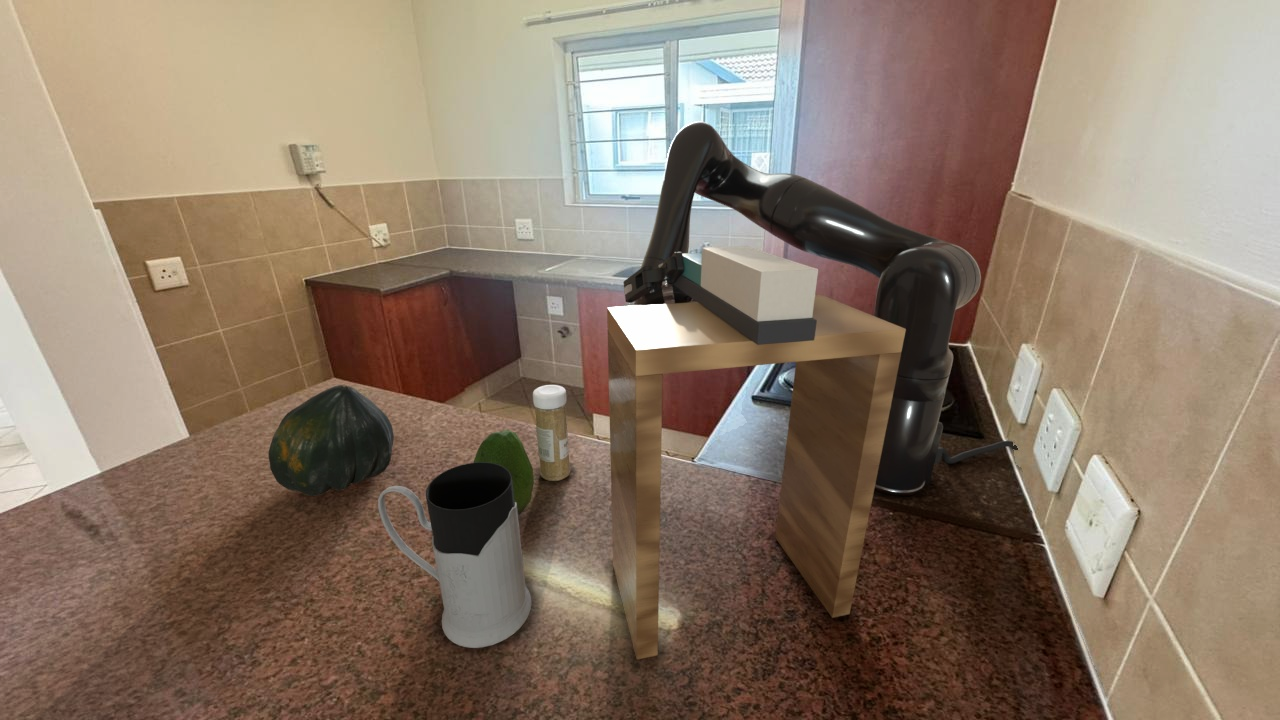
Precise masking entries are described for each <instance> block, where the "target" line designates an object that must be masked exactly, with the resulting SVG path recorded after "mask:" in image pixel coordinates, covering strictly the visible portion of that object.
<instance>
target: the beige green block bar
mask: <svg viewBox="0 0 1280 720" xmlns="http://www.w3.org/2000/svg"><path fill="white" fill-rule="evenodd" d="M682 255H683V263H684V272H683V274H682V275H681V276H680V277H679V278H678V279H677V280H676V282H675V283H672V284H673V285H674V286H676V287H677V288H679V289H680V290H681V291H683V292H684V293H686V294H687V295H688V296H690V297H691V298H693V299H694V300H695V301H697V302H698V303H700V304H701V305H702V306H704V307H705V308H707V309H708V310H709V311H711V312H712V313H714V314H715V315H716V316H718V317H719V318H721V319H722V320H723V321H725V322H726V323H728V324H729V325H730V326H732V327H733V328H735V329H736V330H737V331H739V332H740V333H742V334H743V335H744V336H746V337H747V338H749V339H750V340H751V341H753V342H754V343H755V344H757V345H762V344H775V343H788V342H800V341H813V340H814V339H815V331H816V324H817V320H816V319H814V318H812V315H813V308H814V300H815V295H816V290H817V282H818V275H819V269H818V268H816V267H813V266H810V265H807V264H803V263H801V262H797V261H794V260H791V259H787V258H785V257H781V256H778V255H775V254H773V253H769V252H766V251H763V250H761V249H758V248H754V247H750V246H749V245H740V246H739V245H738V246H734V245H733V246H707V247H705V246H704V247H703V246H702V249H701V252H691V253H689V252H688V253H685V254H682Z"/></svg>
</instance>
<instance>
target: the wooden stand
mask: <svg viewBox="0 0 1280 720" xmlns="http://www.w3.org/2000/svg"><path fill="white" fill-rule="evenodd" d="M606 318H607V319H606V323H607V359H608V360H607V361H608V362H607V365H608V366H607V367H608V404H609V405H608V406H609V407H608V408H609V409H608V410H609V446H610V447H609V449H610V450H609V451H610V489H611V491H610V493H611V533H612V535H611V537H612V538H611V539H612V567H613V571H614V575H615V579H616V583H617V587H618V591H619V596H620V600H621V604H622V606H623V611H624V614H625V615H624V616H625V619H626V623H627V627H628V630H629V635H630V639H631V643H632V647H633V651H634V654H635V658H636V660H642V659H647V658H651V657H657V656H658V655H659V652H658V651H659V605H660V603H659V601H660V599H659V597H660V592H659V591H660V543H661V494H662V493H661V491H662V489H661V487H662V485H661V484H662V483H661V482H662V436H663V435H662V434H663V431H662V429H663V378H664V376H663V375H665V374H675V373H685V372H686V373H687V372H697V371H698V372H699V371H709V370H710V371H711V370H721V369H730V368H742V367H743V368H744V367H754V366H765V365H775V364H777V365H778V364H787V363H795V369H794V375H793V376H794V377H793V384H792V392H791V393H792V394H791V403H790V410H789V418H788V426H787V434H786V435H787V436H786V444H785V453H784V460H783V468H782V475H781V476H782V477H781V487H780V494H779V502H778V511H777V519H776V527H775V528H776V529H775V536H774V538H775V540H776V541H777V542H778V544H779V545H780V547H781V548H782V549H783V551H784V553H785V554H786V555H787V557H788V558H789V560H790V561H791V562H792V564H793V565H794V566H795V568H796V569H797V570H798V572H799V573H800V575H801V576H802V578H803V579H804V581H805V582H806V583H807V585H808V586H809V587H810V589H811V590H812V592H813V593H814V595H815V596H816V597H817V599H818V600H819V602H820V603H821V604H822V606H823V607H824V608H825V610H826V612H827V613H828V614H829V616H830V617H831V618H832V619H833V618H839V617H843V616H847V615H850V614H851V609H852V604H853V600H854V599H853V598H854V594H855V590H856V584H857V579H858V574H859V569H860V564H861V559H862V553H863V550H864V549H863V548H864V544H865V538H866V533H867V528H868V523H869V518H870V514H871V508H872V504H873V503H872V502H873V498H874V492H875V489H874V488H875V483H876V478H877V473H878V468H879V463H880V458H881V453H882V448H883V443H884V438H885V433H886V428H887V423H888V418H889V412H890V407H891V402H892V397H893V392H894V387H895V382H896V377H897V372H898V367H899V362H900V357H901V352H902V346H903V341H904V336H905V331H906V329H904V328H902V327H900V326H897V325H895V324H892V323H890V322H887V321H885V320H882V319H880V318H877V317H875V316H874V315H872V314H870V313H868V312H865V311H862V310H860V309H857V308H855V307H853V306H850V305H848V304H845V303H843V302H840V301H838V300H835V299H833V298H831V297H828V296H825V295H822V294H815V300H814V308H813V315H812V318H814V319H816V320H817V324H816V331H815V339H814V340H813V341H800V342H788V343H775V344H762V345H757V344H755V343H754V342H753V341H751V340H750V339H749V338H747V337H746V336H744V335H743V334H742V333H740V332H739V331H737V330H736V329H735V328H733V327H732V326H730V325H729V324H728V323H726V322H725V321H723V320H722V319H721V318H719V317H718V316H716V315H715V314H714V313H712V312H711V311H709V310H708V309H707V308H705V307H704V306H702V305H701V304H700V303H698V302H692V303H675V304H658V305H641V306H624V307H621V306H609V307H606Z"/></svg>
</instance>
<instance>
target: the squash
mask: <svg viewBox="0 0 1280 720" xmlns="http://www.w3.org/2000/svg"><path fill="white" fill-rule="evenodd" d="M394 435H395V433H394V428H393V425H392V423H391V420H390V419H389V417H388V416H387V414H386V413H385V412H384V411H383V410H381V408H380V407H378V406H377V405H376V403H374V401H372V400H371V399H369V398H368V397H367V396H365V395H364V394H362V393H360V391H358V390H357V389H355V388H354V387H352V386H349V385H347V384H339V385H334V386H332V387H329V388H327V389H325V390H323V391H321V392H319V393H317V394H316V395H313V396H312V397H310V398H309V399H307V400H306V401H304V402H303V403H301V404H300V405H298V406H296V407H294V408H293V409H291V410H289V412H287V413H286V414H285V415H284V417H283V418H282V419H281V421H280V422H279V425H278V427H277V428H276V430H275V432H274V434H273V436H272V438H271V442H270V445H269V449H268V462H269V469H270V471H271V474H272V475H273V476H274V479H275V480H276V482H277V483H278V484H280V486H281V487H283V488H284V489H287V490H289V491H292V492H299V493H301V494H303V495H305V496H310V497H314V496H321V495H324V494H326V493H327V492H329V491H330V490H331V489H333V490H335V491H343V490H344V491H345V490H347V489H348V488H349V487H350V486H351V485H356V484H359V483H362V482H364V481H365V480H368V479H370V478H374V477H376V476H379V475H381V474H382V473H384V471H385V470H387V468H388V466H389V465H390V464H391V460H392V454H393V445H394V439H395V436H394Z"/></svg>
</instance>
